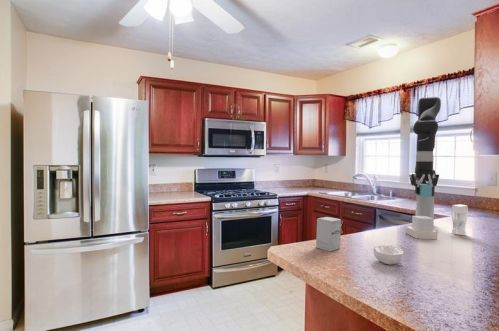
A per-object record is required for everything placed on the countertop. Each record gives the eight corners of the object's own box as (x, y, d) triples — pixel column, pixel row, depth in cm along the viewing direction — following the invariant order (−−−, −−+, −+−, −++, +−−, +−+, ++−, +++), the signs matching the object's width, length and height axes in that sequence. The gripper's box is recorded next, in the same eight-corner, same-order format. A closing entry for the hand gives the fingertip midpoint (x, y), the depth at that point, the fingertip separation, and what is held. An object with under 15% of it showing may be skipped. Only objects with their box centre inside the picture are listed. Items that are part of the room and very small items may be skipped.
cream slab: (406, 234, 154) (406, 226, 154) (425, 234, 154) (425, 227, 154) (416, 239, 144) (416, 231, 144) (437, 239, 144) (437, 231, 144)
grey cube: (412, 227, 153) (412, 215, 152) (426, 227, 152) (426, 216, 152) (418, 230, 146) (418, 218, 146) (433, 231, 145) (433, 218, 145)
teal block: (415, 195, 151) (416, 183, 151) (425, 195, 151) (426, 184, 151) (421, 196, 146) (421, 184, 146) (431, 197, 146) (431, 184, 146)
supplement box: (330, 252, 120) (331, 221, 120) (315, 247, 126) (316, 218, 125) (340, 248, 125) (341, 219, 124) (326, 244, 130) (326, 216, 130)
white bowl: (404, 260, 111) (404, 242, 111) (402, 270, 101) (403, 251, 101) (375, 255, 116) (375, 238, 116) (370, 264, 106) (371, 246, 106)
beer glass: (448, 232, 157) (448, 204, 157) (456, 231, 160) (456, 204, 160) (462, 236, 151) (463, 206, 150) (470, 234, 154) (471, 206, 153)
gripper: (434, 160, 152) (433, 194, 152) (406, 160, 152) (405, 193, 152) (443, 161, 144) (442, 195, 144) (414, 160, 144) (413, 195, 145)
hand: (423, 194), depth 148 cm, fingers closed on teal block, 5 cm apart
